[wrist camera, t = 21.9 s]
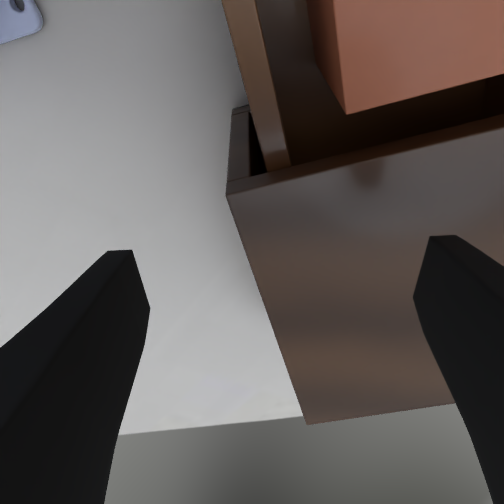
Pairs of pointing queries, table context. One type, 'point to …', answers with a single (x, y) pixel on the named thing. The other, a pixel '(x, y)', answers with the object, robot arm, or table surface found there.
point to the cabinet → (362, 256)
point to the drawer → (328, 92)
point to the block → (404, 47)
